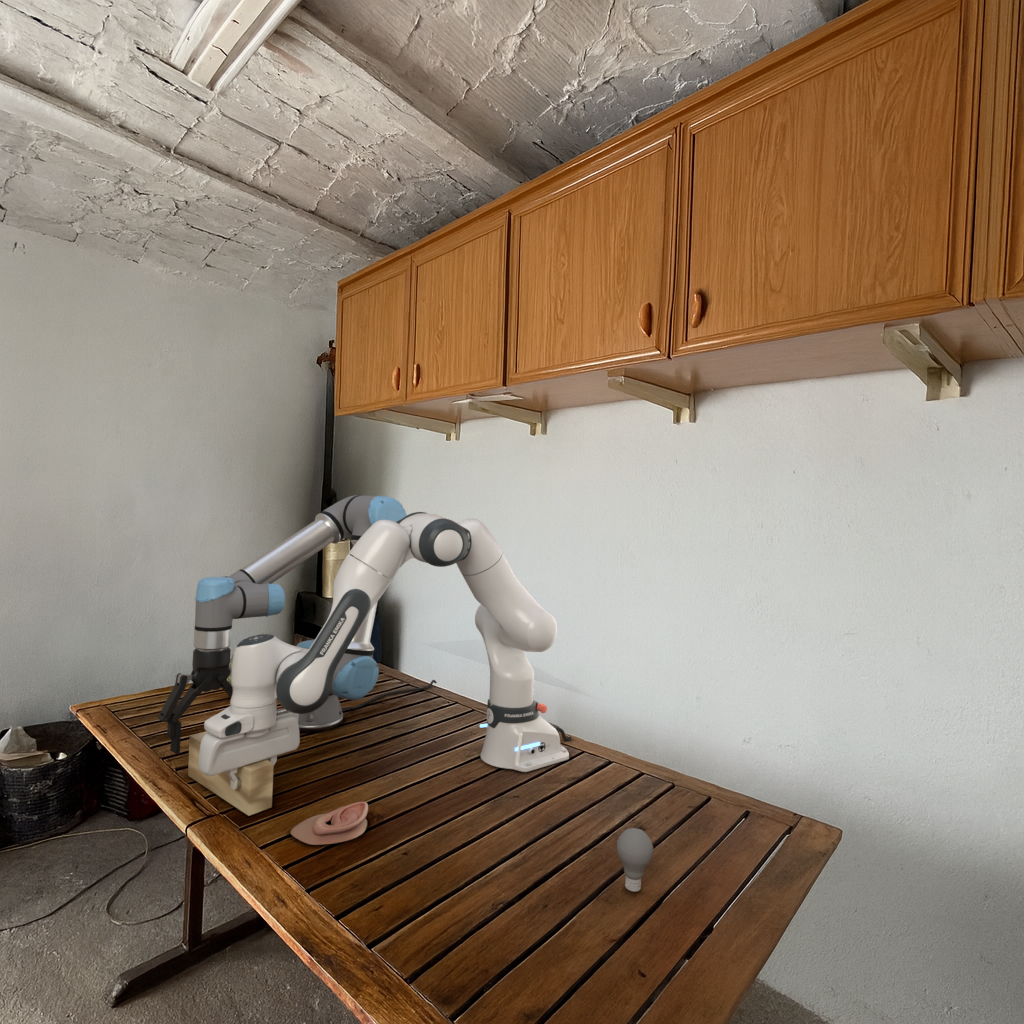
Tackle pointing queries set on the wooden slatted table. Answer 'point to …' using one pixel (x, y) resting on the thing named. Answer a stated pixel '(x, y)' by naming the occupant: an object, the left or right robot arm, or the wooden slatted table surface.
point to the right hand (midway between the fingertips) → (250, 782)
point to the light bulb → (634, 856)
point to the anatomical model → (333, 825)
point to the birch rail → (254, 777)
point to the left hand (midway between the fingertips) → (206, 743)
